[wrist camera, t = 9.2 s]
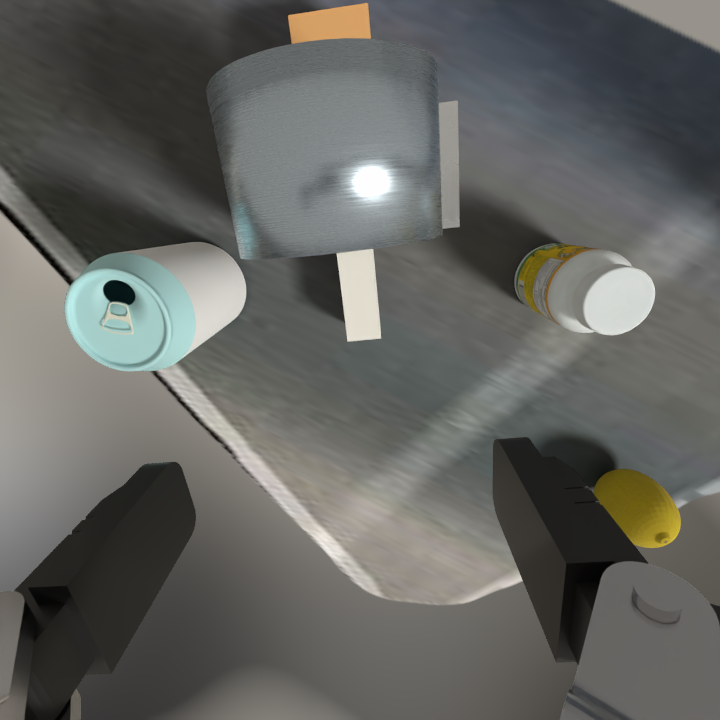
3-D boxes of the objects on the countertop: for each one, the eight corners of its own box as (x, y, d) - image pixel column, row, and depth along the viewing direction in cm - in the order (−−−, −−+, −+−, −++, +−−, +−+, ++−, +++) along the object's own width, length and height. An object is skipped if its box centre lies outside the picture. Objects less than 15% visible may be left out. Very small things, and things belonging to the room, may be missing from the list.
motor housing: (432, 135, 28) (524, 9, 11) (434, 223, 30) (516, 233, 13) (262, 157, 28) (100, 71, 12) (277, 241, 30) (157, 272, 14)
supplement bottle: (500, 295, 31) (551, 327, 22) (534, 231, 30) (604, 238, 21) (558, 319, 32) (630, 359, 23) (594, 257, 30) (689, 275, 21)
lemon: (568, 469, 37) (618, 533, 30) (624, 442, 36) (691, 502, 28) (591, 508, 39) (643, 578, 31) (646, 483, 37) (714, 550, 30)
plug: (368, 41, 26) (367, 2, 21) (391, 321, 33) (395, 339, 28) (303, 51, 26) (287, 15, 21) (339, 326, 33) (333, 344, 28)
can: (147, 266, 32) (22, 294, 20) (217, 225, 30) (125, 230, 19) (197, 339, 34) (109, 401, 22) (264, 303, 32) (206, 350, 21)
